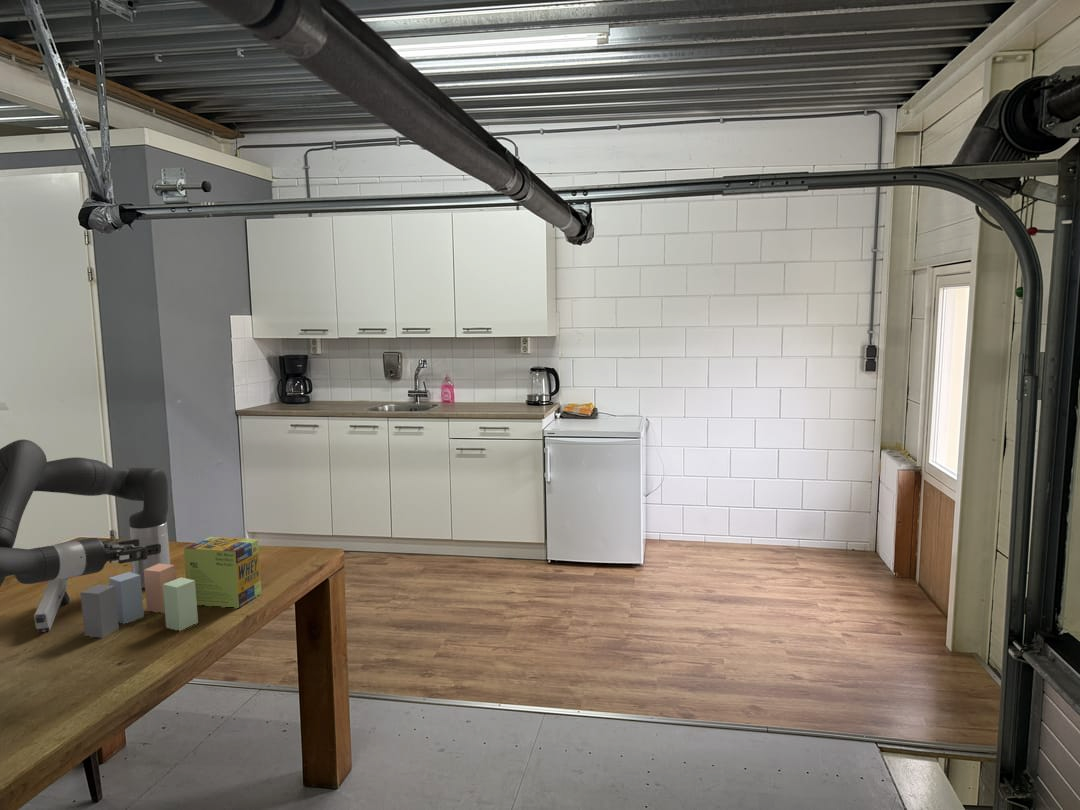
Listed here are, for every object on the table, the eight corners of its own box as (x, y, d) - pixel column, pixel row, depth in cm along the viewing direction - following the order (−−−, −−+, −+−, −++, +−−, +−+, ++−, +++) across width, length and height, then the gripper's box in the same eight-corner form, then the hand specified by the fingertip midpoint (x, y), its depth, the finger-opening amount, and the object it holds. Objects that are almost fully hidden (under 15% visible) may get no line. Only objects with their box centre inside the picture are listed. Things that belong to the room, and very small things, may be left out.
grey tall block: (84, 636, 169) (80, 592, 168) (101, 627, 174) (97, 584, 173) (102, 638, 168) (98, 593, 167) (119, 629, 173) (115, 585, 172)
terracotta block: (147, 611, 184) (143, 570, 183) (162, 603, 189) (159, 563, 187) (163, 613, 183) (159, 571, 181) (177, 605, 187) (174, 565, 186)
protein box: (239, 609, 185) (235, 551, 183) (187, 605, 188) (182, 548, 186) (262, 593, 195) (259, 538, 193) (212, 590, 198) (208, 535, 196)
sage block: (166, 627, 174) (162, 584, 173) (184, 619, 178) (181, 577, 177) (180, 631, 172) (176, 587, 170) (198, 623, 176) (194, 580, 175)
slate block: (112, 620, 179) (108, 578, 177) (132, 613, 183) (129, 571, 181) (123, 624, 176) (120, 581, 175) (143, 617, 180) (140, 575, 179)
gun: (73, 591, 195) (68, 559, 191) (51, 649, 173) (45, 615, 169) (62, 593, 194) (57, 561, 190) (39, 651, 172) (32, 616, 169)
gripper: (93, 545, 148) (168, 533, 162) (56, 537, 155) (131, 526, 169) (92, 581, 148) (167, 566, 162) (56, 571, 155) (130, 557, 169)
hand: (148, 545), depth 165 cm, fingers open, 8 cm apart
